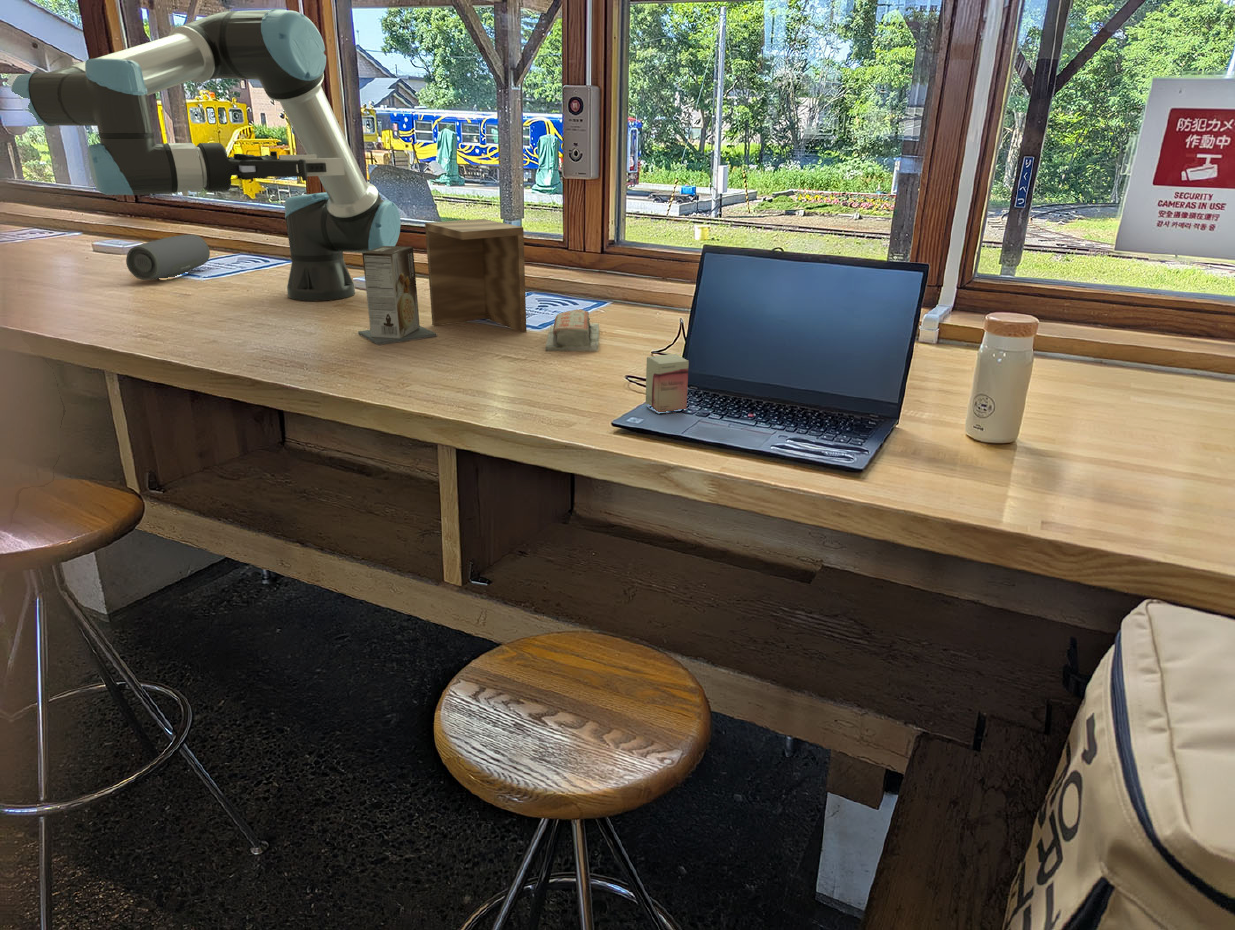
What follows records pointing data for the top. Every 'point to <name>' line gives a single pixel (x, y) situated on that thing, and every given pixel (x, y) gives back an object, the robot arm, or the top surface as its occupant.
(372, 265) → the coffee box
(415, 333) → the mat
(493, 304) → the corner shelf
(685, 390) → the small box
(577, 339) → the packaged product
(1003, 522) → the top surface
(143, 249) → the bluetooth speaker
